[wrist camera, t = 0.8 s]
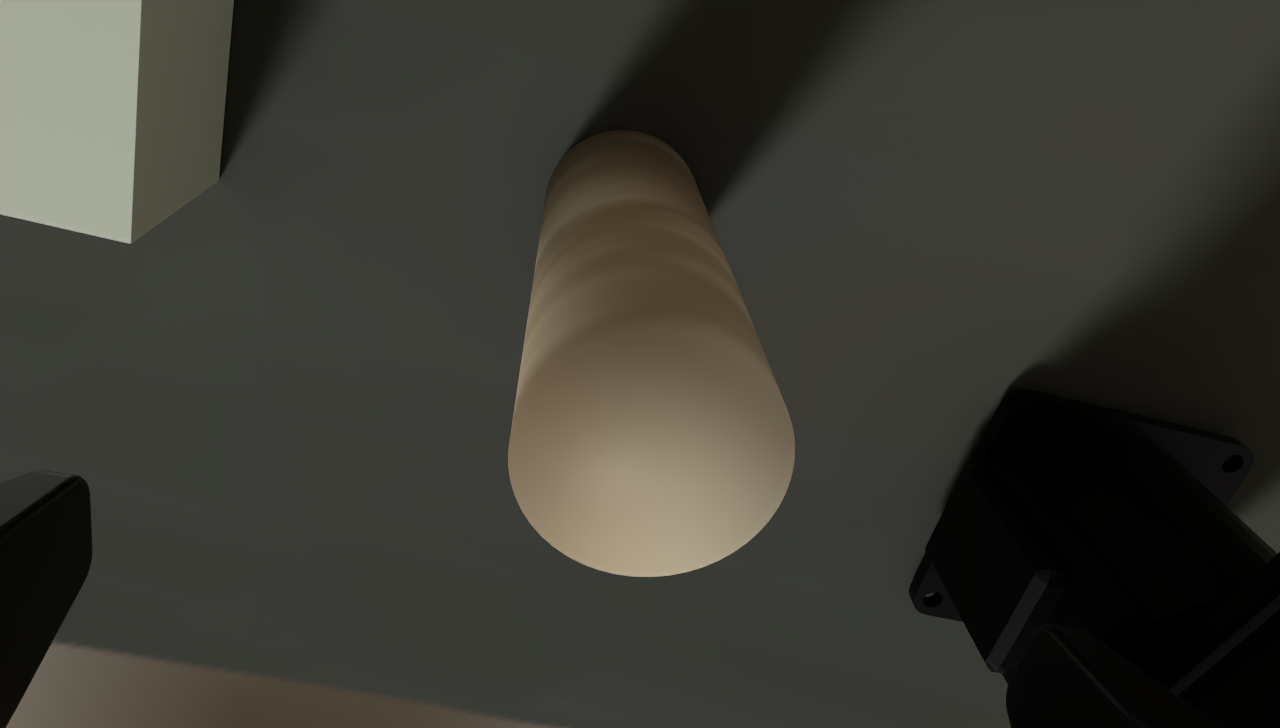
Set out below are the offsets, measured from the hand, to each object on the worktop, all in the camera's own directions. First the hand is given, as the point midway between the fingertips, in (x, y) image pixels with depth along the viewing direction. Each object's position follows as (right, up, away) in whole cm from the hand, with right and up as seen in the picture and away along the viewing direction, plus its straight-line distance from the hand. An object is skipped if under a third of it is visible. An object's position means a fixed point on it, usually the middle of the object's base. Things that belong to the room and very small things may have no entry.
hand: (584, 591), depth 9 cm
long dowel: (0, +5, +11) cm, 12 cm away
